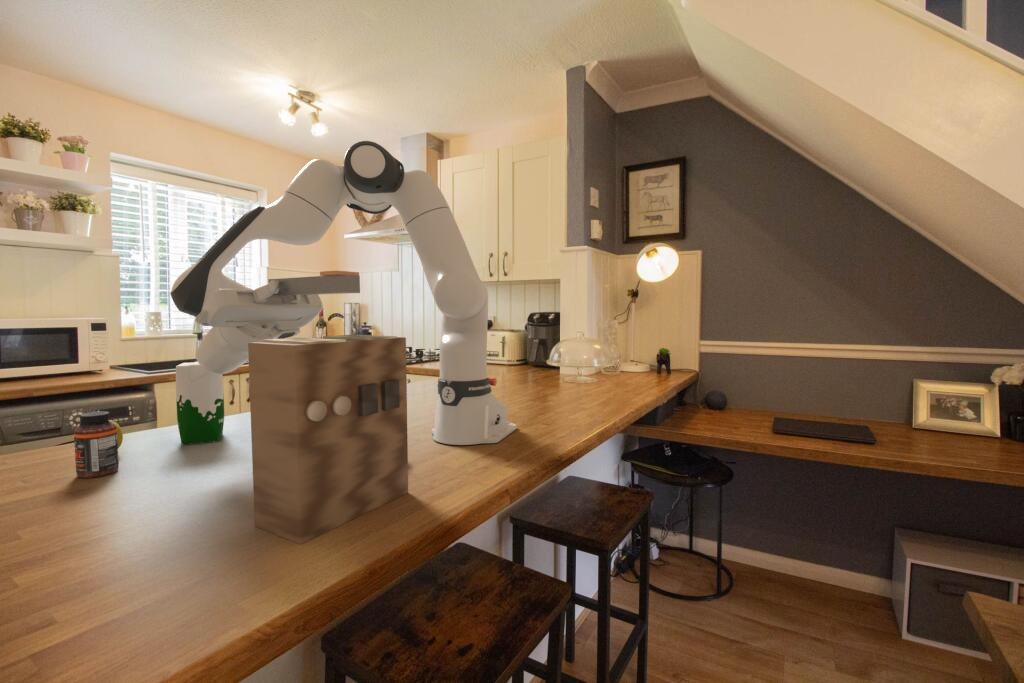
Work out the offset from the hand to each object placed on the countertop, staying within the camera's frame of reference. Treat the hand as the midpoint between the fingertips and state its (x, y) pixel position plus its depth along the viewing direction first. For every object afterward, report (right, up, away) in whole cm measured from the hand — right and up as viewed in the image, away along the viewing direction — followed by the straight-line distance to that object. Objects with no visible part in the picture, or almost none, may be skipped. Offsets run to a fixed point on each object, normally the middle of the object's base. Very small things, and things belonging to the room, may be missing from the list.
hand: (289, 284), depth 83 cm
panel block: (+13, -35, -11) cm, 39 cm away
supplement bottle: (-37, -35, +4) cm, 51 cm away
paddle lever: (+5, -2, -3) cm, 7 cm away
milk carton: (-33, -33, +27) cm, 54 cm away
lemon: (-44, -34, +14) cm, 58 cm away
